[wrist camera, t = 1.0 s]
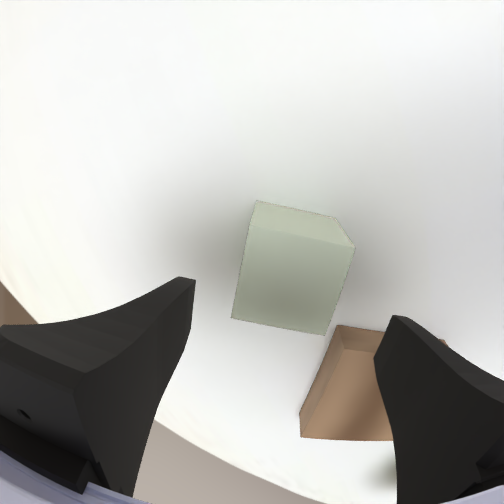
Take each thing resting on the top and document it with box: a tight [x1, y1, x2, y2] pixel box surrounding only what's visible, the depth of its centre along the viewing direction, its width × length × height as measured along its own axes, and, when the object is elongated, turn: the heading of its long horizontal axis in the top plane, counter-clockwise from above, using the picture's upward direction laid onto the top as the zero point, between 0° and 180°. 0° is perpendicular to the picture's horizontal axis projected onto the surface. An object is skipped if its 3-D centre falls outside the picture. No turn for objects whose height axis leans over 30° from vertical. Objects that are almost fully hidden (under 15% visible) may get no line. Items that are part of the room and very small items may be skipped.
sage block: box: [231, 201, 355, 336], centre depth 16 cm, size 4×4×5 cm
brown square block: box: [299, 325, 448, 441], centre depth 20 cm, size 9×9×3 cm
